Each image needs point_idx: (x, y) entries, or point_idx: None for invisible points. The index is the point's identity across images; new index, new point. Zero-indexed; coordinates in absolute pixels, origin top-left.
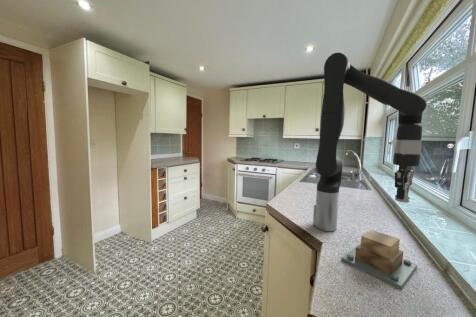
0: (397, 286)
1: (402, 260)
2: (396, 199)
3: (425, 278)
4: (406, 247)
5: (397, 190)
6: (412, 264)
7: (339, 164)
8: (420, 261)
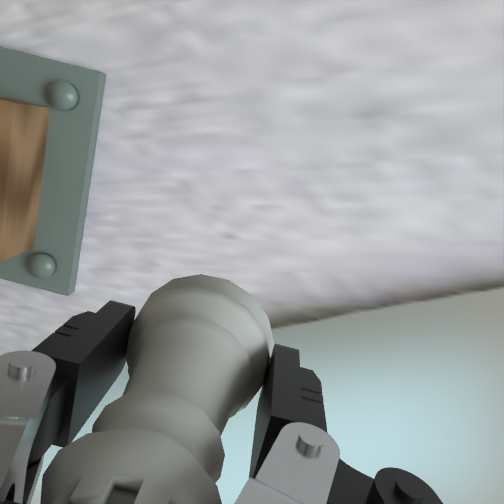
0: None
1: (24, 250)
2: (157, 293)
3: (14, 310)
4: (253, 265)
5: (65, 348)
6: (55, 281)
7: None
8: (142, 307)
